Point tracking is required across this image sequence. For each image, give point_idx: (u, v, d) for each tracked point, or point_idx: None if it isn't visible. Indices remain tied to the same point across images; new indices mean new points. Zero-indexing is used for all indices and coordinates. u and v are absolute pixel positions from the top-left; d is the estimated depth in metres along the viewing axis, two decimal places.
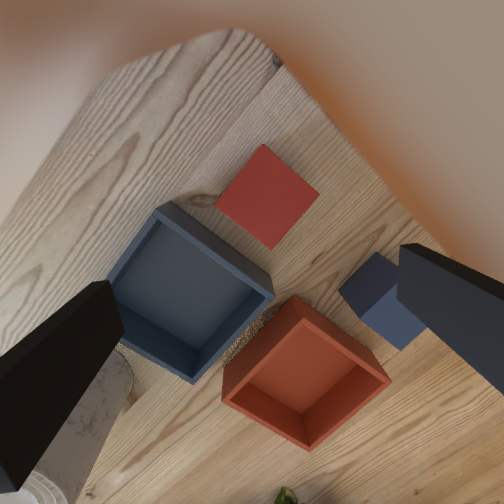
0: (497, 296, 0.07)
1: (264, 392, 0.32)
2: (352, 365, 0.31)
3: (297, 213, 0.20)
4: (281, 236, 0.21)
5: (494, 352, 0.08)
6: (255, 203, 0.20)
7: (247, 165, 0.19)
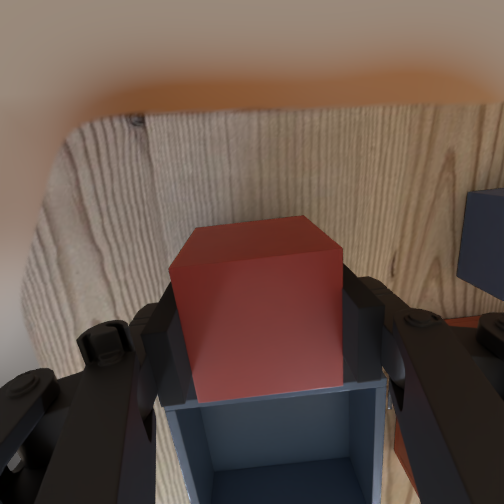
0: None
1: None
2: None
3: (332, 308, 0.09)
4: (339, 358, 0.10)
5: None
6: (251, 352, 0.10)
7: (181, 318, 0.09)
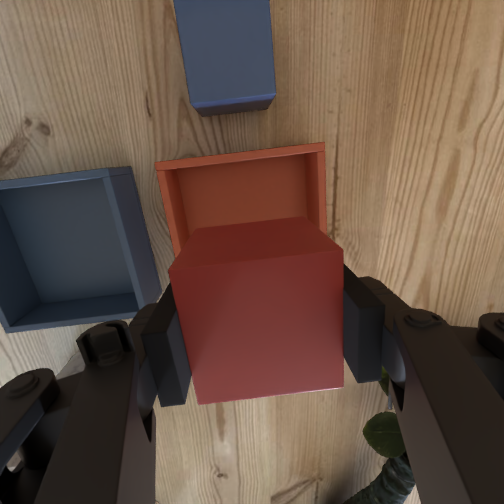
0: None
1: None
2: (301, 176, 0.24)
3: (333, 309, 0.09)
4: (340, 359, 0.10)
5: None
6: (251, 354, 0.09)
7: (181, 319, 0.09)
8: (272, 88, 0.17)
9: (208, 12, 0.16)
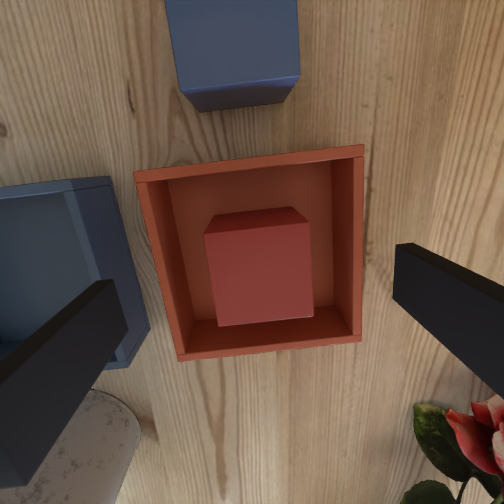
0: (489, 295, 0.08)
1: None
2: (326, 188, 0.19)
3: (304, 261, 0.14)
4: (310, 295, 0.15)
5: (487, 350, 0.08)
6: (253, 290, 0.15)
7: (209, 266, 0.14)
8: (295, 68, 0.12)
9: None
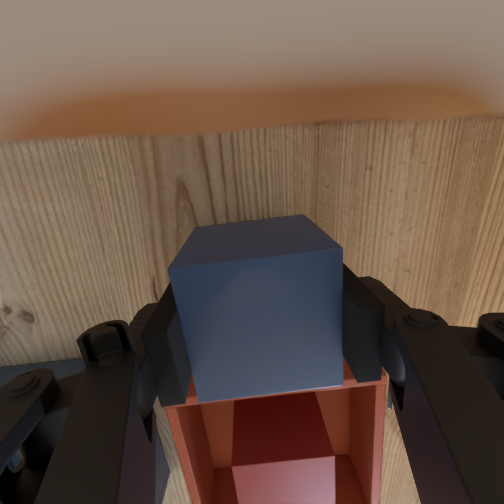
0: None
1: None
2: None
3: (328, 483, 0.15)
4: None
5: None
6: None
7: (237, 489, 0.15)
8: (338, 379, 0.10)
9: (232, 288, 0.09)
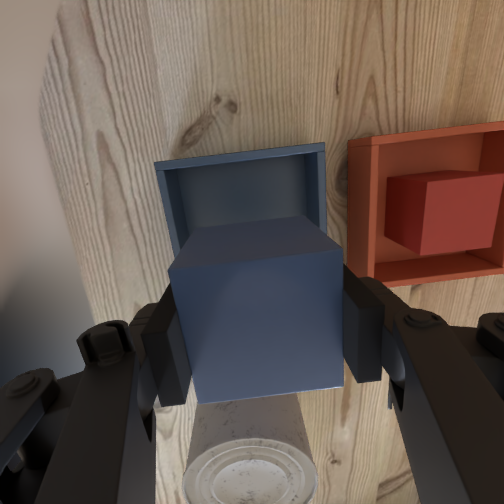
0: None
1: (406, 259, 0.27)
2: (476, 155, 0.24)
3: (494, 203, 0.20)
4: (492, 230, 0.20)
5: None
6: (452, 226, 0.20)
7: (426, 207, 0.19)
8: (338, 381, 0.10)
9: (233, 289, 0.09)
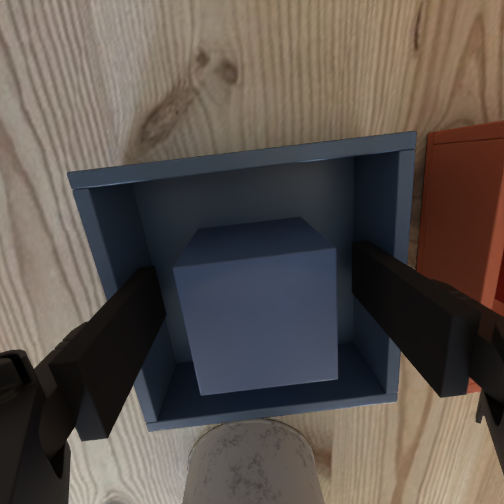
0: (411, 285, 0.09)
1: None
2: None
3: None
4: None
5: (411, 334, 0.09)
6: None
7: None
8: (333, 373, 0.11)
9: (233, 286, 0.09)
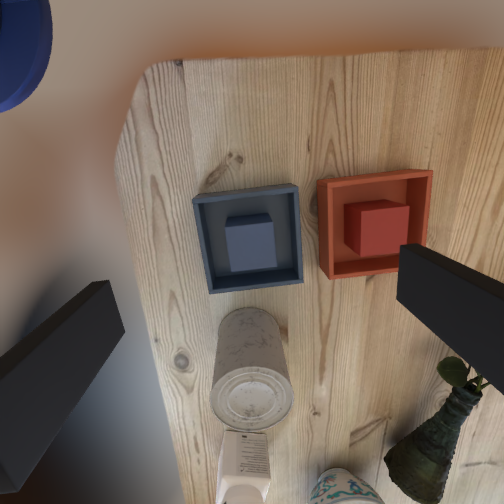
0: (497, 296, 0.07)
1: (360, 259, 0.38)
2: (403, 189, 0.35)
3: (405, 224, 0.31)
4: (405, 241, 0.32)
5: (494, 352, 0.08)
6: (379, 238, 0.32)
7: (361, 226, 0.31)
8: (275, 264, 0.32)
9: (242, 233, 0.31)
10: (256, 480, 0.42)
